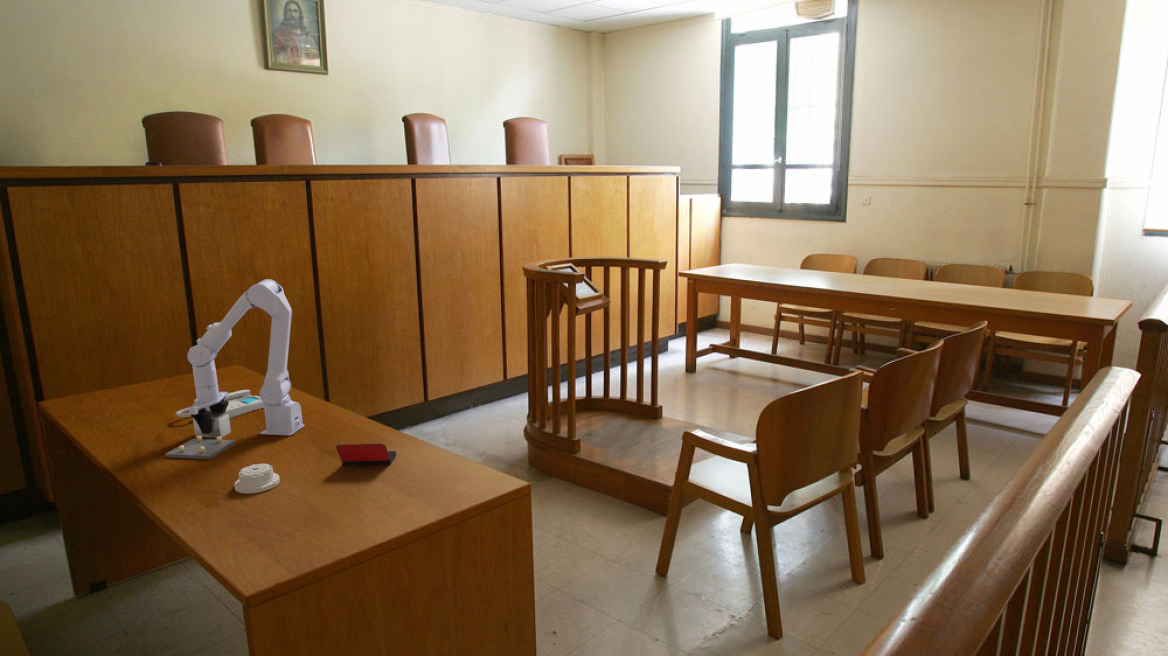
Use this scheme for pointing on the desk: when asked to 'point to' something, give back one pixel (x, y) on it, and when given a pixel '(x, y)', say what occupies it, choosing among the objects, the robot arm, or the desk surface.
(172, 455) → the tray
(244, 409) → the intercom
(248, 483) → the mechanical component
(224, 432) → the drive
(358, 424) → the desk surface
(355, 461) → the handheld game console
